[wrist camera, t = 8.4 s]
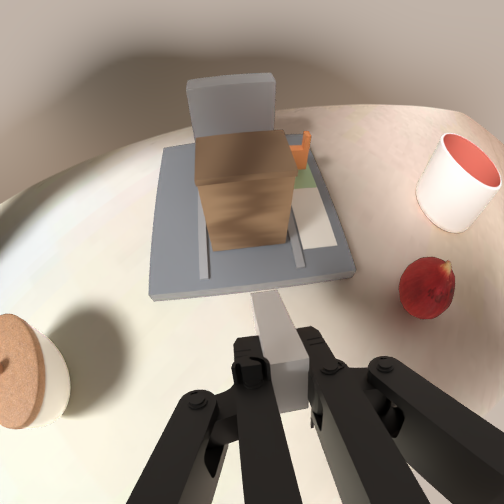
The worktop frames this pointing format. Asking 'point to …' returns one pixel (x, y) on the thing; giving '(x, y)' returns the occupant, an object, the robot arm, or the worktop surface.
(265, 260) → the base
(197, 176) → the brown rectangular block
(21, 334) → the lidded jar
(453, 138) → the cup
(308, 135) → the orange bracket
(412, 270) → the onion
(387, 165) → the worktop surface
